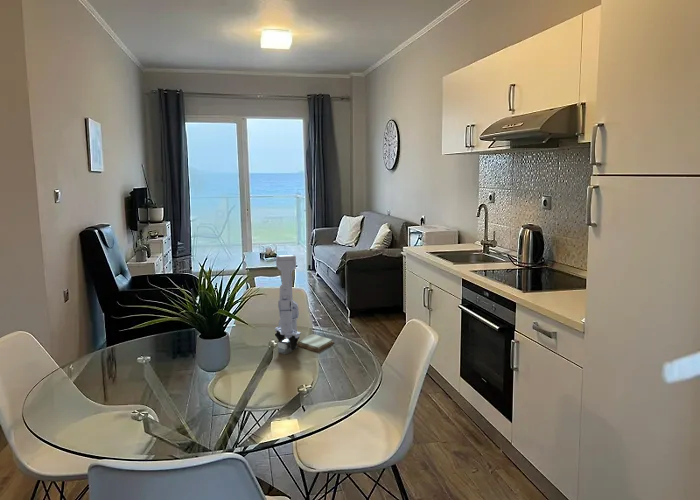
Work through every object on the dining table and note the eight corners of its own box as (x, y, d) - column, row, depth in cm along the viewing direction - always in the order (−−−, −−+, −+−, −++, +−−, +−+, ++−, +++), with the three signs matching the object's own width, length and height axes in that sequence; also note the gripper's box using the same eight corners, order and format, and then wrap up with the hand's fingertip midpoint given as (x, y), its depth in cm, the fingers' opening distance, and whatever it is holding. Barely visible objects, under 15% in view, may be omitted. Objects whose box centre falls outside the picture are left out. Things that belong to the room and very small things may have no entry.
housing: (278, 352, 254) (277, 341, 252) (290, 346, 261) (290, 335, 259) (285, 355, 251) (284, 343, 250) (297, 348, 258) (296, 337, 257)
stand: (296, 345, 261) (296, 341, 261) (313, 336, 271) (312, 332, 271) (318, 352, 253) (317, 348, 253) (334, 342, 263) (334, 339, 263)
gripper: (269, 321, 253) (271, 347, 257) (291, 328, 245) (293, 354, 249) (279, 317, 259) (281, 342, 262) (301, 323, 251) (302, 348, 254)
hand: (287, 347), depth 256 cm, fingers open, 7 cm apart
